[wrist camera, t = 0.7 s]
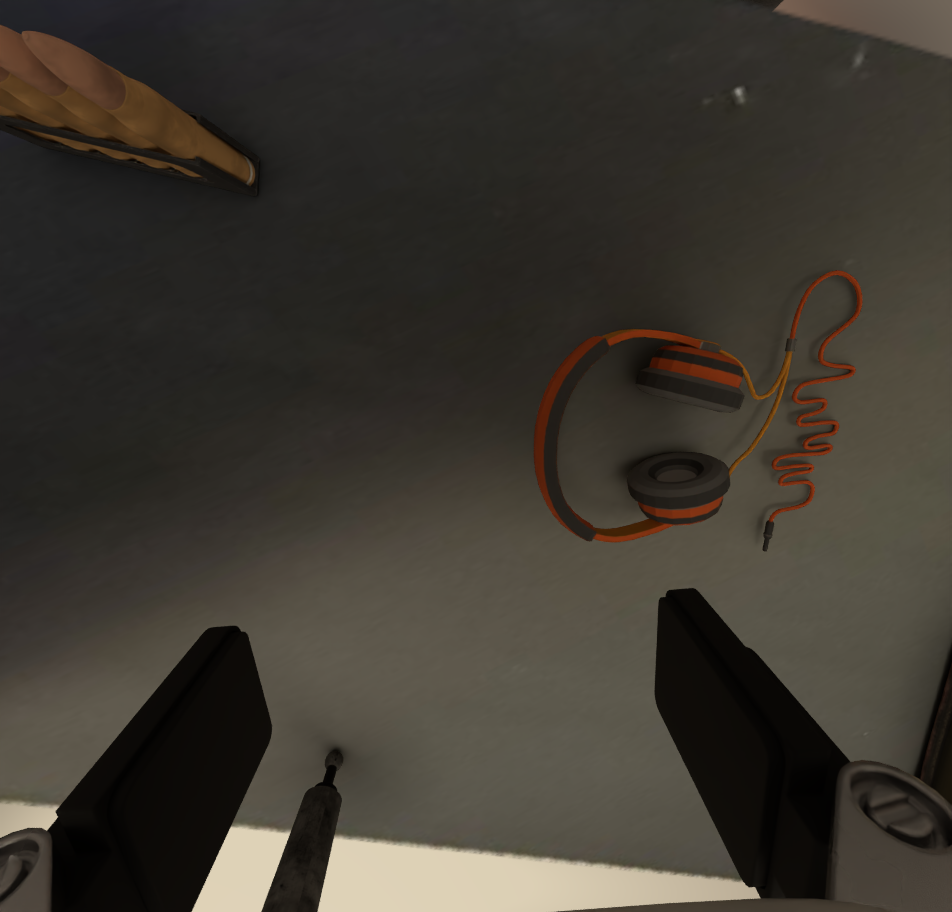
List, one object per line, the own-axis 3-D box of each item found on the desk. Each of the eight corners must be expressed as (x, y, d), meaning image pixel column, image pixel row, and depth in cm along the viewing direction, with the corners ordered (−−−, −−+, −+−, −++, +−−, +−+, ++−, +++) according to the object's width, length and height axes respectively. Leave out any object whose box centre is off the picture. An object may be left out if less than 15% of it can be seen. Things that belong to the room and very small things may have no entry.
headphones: (831, 274, 28) (521, 272, 23) (934, 265, 23) (566, 260, 18) (780, 525, 33) (516, 565, 28) (855, 562, 28) (551, 618, 23)
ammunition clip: (261, 157, 23) (60, 2, 12) (258, 197, 24) (64, 86, 12) (38, 103, 22) (-414, -122, 11) (40, 146, 23) (-389, -25, 11)
